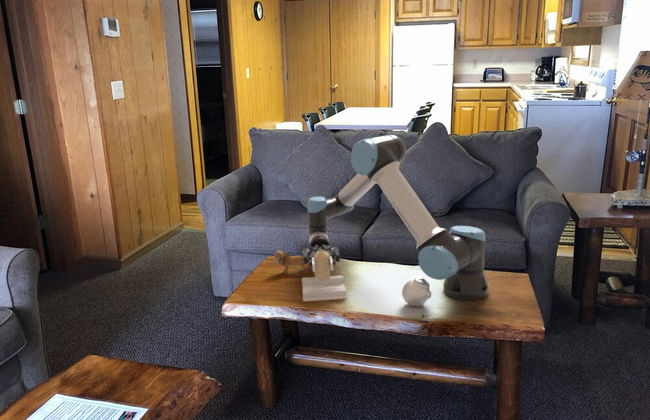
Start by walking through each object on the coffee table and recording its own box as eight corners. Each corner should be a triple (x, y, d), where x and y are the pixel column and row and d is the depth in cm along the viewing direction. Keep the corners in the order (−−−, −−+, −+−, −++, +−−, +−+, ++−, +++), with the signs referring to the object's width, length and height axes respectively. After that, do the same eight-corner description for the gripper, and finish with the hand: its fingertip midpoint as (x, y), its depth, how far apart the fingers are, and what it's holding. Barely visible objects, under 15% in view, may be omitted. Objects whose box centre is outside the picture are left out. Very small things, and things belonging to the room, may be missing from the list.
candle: (328, 281, 187) (327, 254, 184) (313, 280, 188) (312, 253, 185) (331, 274, 192) (330, 248, 189) (316, 274, 193) (315, 248, 190)
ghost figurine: (423, 314, 172) (423, 285, 169) (397, 306, 177) (397, 279, 175) (435, 303, 179) (436, 275, 176) (410, 296, 184) (410, 269, 182)
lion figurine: (274, 275, 208) (273, 253, 205) (275, 270, 213) (274, 248, 210) (312, 273, 208) (311, 251, 205) (312, 268, 213) (311, 247, 210)
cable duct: (343, 282, 198) (342, 275, 197) (346, 298, 185) (346, 290, 184) (302, 285, 197) (302, 277, 196) (303, 301, 184) (302, 293, 184)
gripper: (343, 252, 207) (350, 276, 185) (295, 254, 206) (296, 279, 184) (343, 233, 205) (349, 255, 183) (294, 236, 204) (295, 258, 182)
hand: (322, 267), depth 183 cm, fingers closed on candle, 5 cm apart
